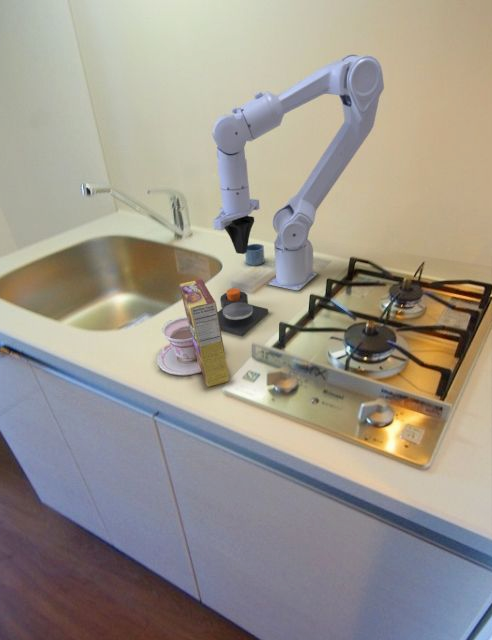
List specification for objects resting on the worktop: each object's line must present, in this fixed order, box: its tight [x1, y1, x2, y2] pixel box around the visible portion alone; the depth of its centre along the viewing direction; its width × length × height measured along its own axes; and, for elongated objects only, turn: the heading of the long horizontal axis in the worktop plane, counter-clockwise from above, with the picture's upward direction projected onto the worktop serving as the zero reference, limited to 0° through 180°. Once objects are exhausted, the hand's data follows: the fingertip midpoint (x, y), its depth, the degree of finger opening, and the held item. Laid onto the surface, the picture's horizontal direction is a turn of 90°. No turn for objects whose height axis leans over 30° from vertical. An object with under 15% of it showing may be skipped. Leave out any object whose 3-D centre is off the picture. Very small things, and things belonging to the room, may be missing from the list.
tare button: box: [226, 287, 241, 301], centre depth 90 cm, size 3×3×2 cm
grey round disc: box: [222, 302, 253, 320], centre depth 85 cm, size 6×6×1 cm
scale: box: [217, 290, 269, 337], centre depth 88 cm, size 11×10×3 cm
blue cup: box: [244, 243, 266, 267], centre depth 109 cm, size 5×5×4 cm
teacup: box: [156, 316, 202, 376], centre depth 77 cm, size 12×12×6 cm
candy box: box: [179, 279, 230, 388], centre depth 70 cm, size 9×4×15 cm, turn 19°
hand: (241, 252), depth 95 cm, fingers closed
